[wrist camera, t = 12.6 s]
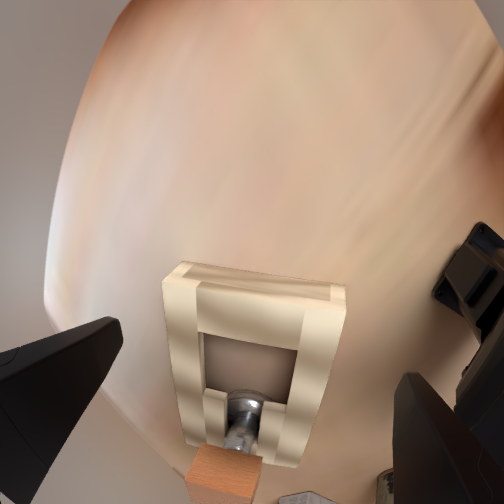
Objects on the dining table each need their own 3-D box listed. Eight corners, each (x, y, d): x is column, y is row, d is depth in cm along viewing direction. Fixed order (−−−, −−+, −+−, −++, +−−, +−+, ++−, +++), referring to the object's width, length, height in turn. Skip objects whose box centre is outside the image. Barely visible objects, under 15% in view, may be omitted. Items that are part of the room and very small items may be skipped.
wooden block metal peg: (279, 395, 26) (252, 497, 16) (274, 426, 28) (249, 516, 18) (225, 384, 27) (183, 479, 17) (225, 416, 29) (190, 501, 19)
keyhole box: (183, 261, 23) (161, 281, 20) (344, 285, 21) (346, 311, 18) (196, 420, 31) (185, 443, 28) (301, 443, 29) (297, 468, 25)
